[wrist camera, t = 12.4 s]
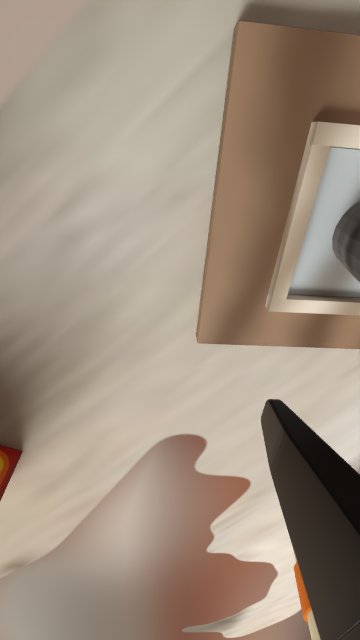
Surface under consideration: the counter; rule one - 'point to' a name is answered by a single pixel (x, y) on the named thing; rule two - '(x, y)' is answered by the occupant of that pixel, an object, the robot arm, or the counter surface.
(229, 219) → the base board
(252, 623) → the counter surface
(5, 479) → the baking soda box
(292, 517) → the robot arm
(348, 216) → the beverage cup
